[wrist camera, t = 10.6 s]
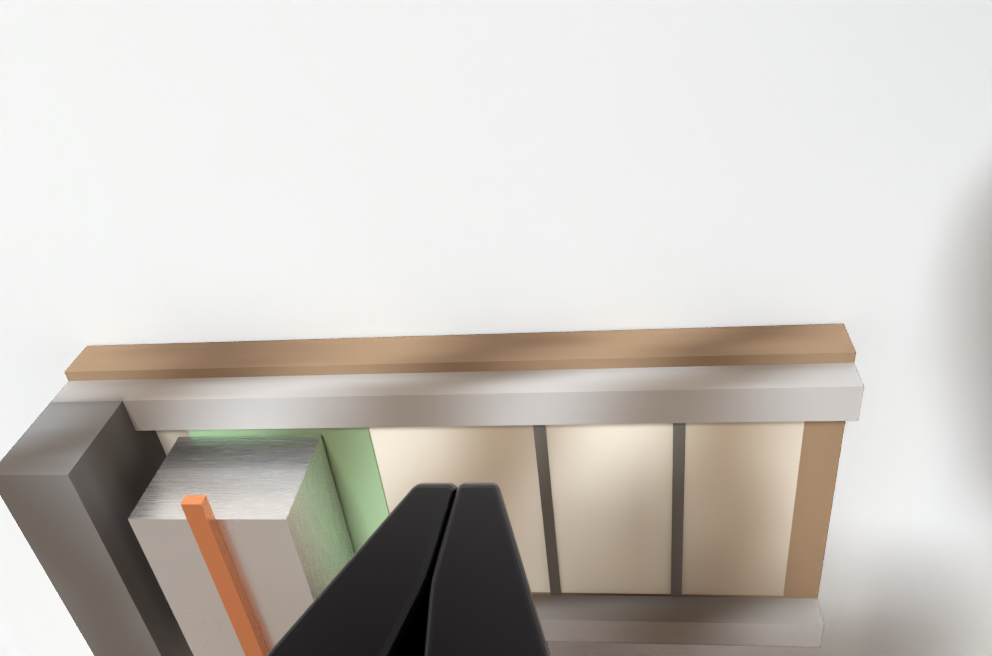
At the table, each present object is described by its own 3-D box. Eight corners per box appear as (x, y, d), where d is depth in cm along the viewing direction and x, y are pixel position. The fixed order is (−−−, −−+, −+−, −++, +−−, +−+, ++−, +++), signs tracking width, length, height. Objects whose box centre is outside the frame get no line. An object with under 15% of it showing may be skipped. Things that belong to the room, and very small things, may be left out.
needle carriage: (314, 411, 22) (273, 504, 19) (369, 603, 26) (341, 702, 23) (169, 413, 23) (110, 504, 20) (245, 601, 27) (205, 697, 24)
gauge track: (843, 323, 21) (900, 458, 17) (804, 594, 26) (841, 743, 22) (87, 346, 24) (-17, 465, 20) (194, 585, 29) (130, 717, 25)
